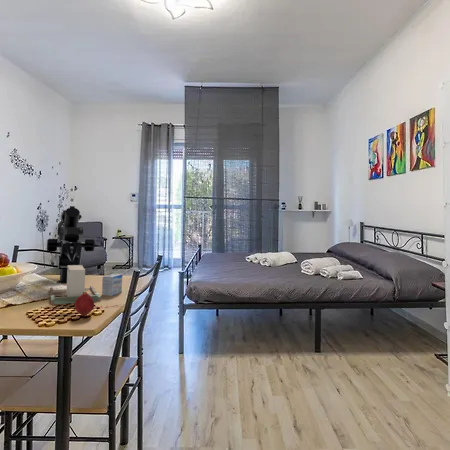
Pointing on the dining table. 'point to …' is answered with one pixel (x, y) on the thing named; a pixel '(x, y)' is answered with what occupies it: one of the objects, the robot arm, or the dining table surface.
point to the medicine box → (112, 284)
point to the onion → (84, 304)
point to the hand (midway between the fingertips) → (71, 260)
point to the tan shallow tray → (65, 299)
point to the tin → (75, 280)
